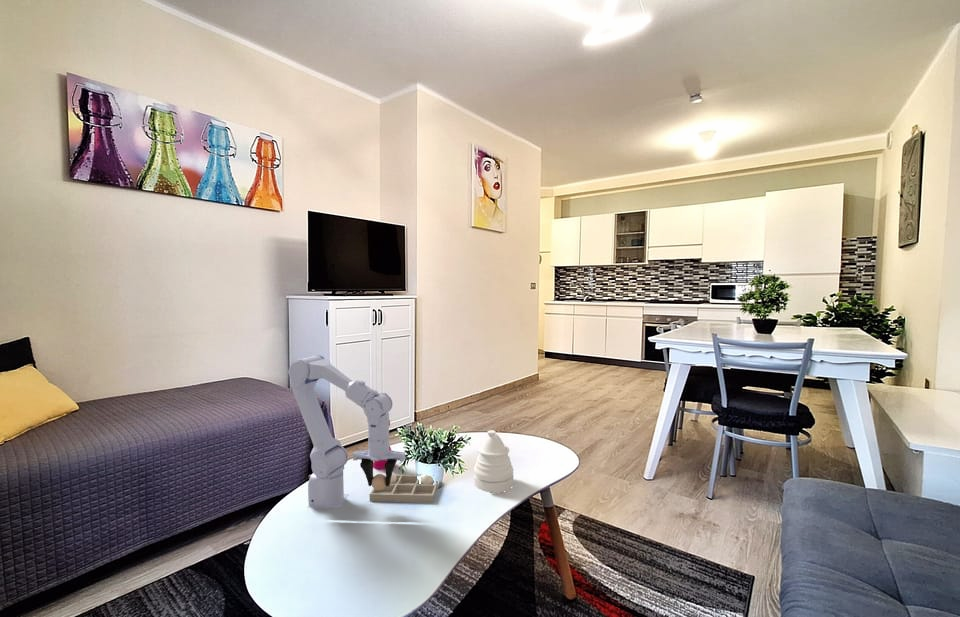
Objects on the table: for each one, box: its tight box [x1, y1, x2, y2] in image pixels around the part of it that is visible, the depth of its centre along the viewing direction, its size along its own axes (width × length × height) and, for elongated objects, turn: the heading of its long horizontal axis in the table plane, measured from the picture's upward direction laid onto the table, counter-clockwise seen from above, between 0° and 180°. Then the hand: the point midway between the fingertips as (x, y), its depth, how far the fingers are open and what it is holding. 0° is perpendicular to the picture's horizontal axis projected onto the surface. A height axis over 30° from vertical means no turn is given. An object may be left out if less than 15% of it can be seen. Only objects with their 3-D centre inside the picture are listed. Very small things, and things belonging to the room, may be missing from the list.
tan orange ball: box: [371, 473, 386, 490], centre depth 119 cm, size 4×4×4 cm
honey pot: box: [473, 429, 514, 494], centre depth 135 cm, size 13×13×18 cm
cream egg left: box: [383, 471, 397, 484], centre depth 133 cm, size 4×4×4 cm
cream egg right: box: [421, 474, 434, 485], centre depth 132 cm, size 4×4×4 cm
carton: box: [369, 474, 439, 503], centre depth 130 cm, size 19×13×3 cm
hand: (379, 484), depth 119 cm, fingers closed on tan orange ball, 4 cm apart
